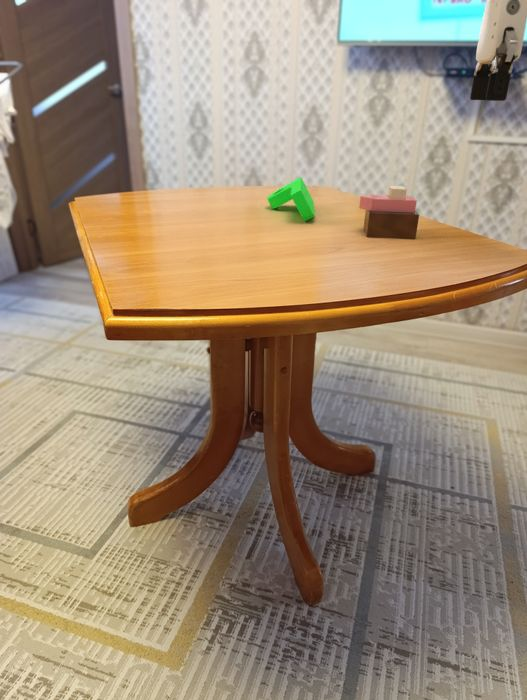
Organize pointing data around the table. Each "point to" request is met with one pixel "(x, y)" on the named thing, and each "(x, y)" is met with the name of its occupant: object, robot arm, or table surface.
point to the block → (391, 224)
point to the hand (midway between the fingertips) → (486, 100)
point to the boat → (389, 201)
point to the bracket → (294, 198)
